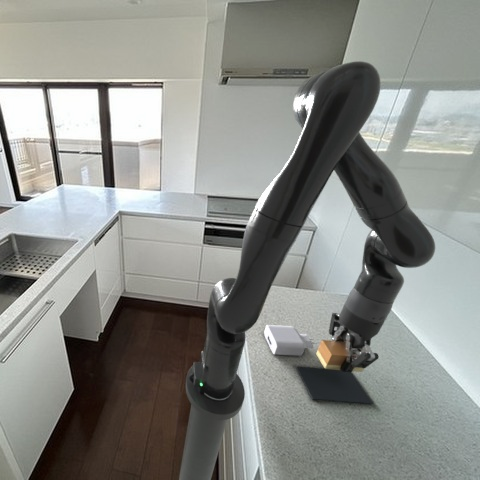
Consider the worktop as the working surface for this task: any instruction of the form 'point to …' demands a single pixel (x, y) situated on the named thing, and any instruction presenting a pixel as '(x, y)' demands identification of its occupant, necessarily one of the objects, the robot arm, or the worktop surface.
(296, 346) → the charger
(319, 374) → the mat
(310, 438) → the worktop surface
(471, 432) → the worktop surface
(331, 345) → the brush
